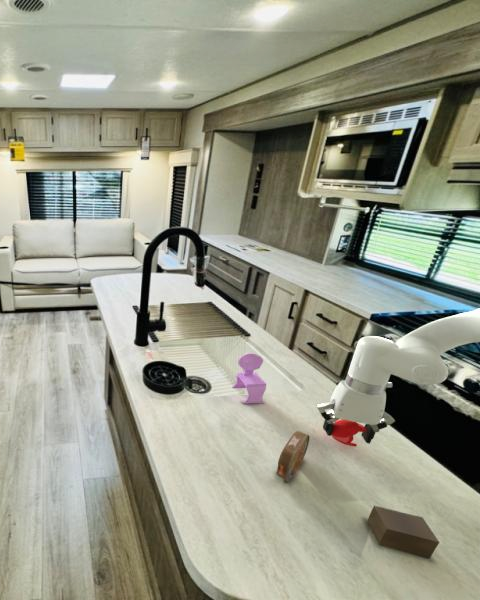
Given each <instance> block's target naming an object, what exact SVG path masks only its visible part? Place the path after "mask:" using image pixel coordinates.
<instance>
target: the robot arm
mask: <svg viewBox="0 0 480 600" xmlns="http://www.w3.org/2000/svg"><path fill="white" fill-rule="evenodd" d="M356 343H357V344H356V346H355V349H354V353H353V355H352V359H351V362H350V364H349V368H348V371H347V373H346V377H345V379H342V380H340V381H339V383H337V385H336V386H335V389H334V390H333V393H332V395H331V397H330V398H329V401H327V402H322V403H317V404H316V408H317V410H318V411H319V413H320V415H321V417H322V418H323V419H324V422H323V425H322V430H323V431H325V434H326V435H327V436H329V437H332V436H331V435H332V432H333V429H334V424H333V423H334V422H336V421H339V420H347V421H353V422H357V423H358V424H364V425H363V426H364V427H365V428H366V429H367V431H366V432H361V437H362V439H363V440H364V442H365V443H366V444H368V445H369V444H371V442H372V440H373V439H374V438H375V435H376V433H379V432H380V431H381V430H383V429H385V428H387V427H388V426H389V425H392V424H393V423H395V422H396V420H395V418H394V417H393V416H392V415H390V414H389V413H388V412H386V411H385V408H386V403H387V402H386V401H387V392H386V389H388V388H389V389H392V388H393V382H391V381H389V380H390V377H391V375H393V376H395V377H399V378H400V379H404V380H405V381H409V382H412V383H415V384H418V385H423V386H425V385H426V386H435V385H439V384H441V383H443V382H444V381H446V380H447V379H448V376H449V368H448V365H447V364H446V361H444V359H443V358H442V356H441V354H444V353H447V352H448V351H450V350H452V349H455V348H458V347H460V346H463V345H468V344H472V343H474V344H475V343H480V307H479V308H477V309H475V310H471V311H467V312H462V313H458V314H455V315H451V316H447V317H443V318H439V319H435V320H434V321H430V322H428V323H426V324H423V325H421V326H419V327H418V328H416V329H414V330H412V331H410V332H409V333H406V334H405V335H403V336H402V337H400V338H398V340H397V341H395V342H394V341H392V340H390V339H387V338H384V337H381V336H376V335H366V336H365V335H364V336H363V337H361V338H360V339H358V341H357V342H356ZM326 410H329V411H327V412H326Z"/></svg>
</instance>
